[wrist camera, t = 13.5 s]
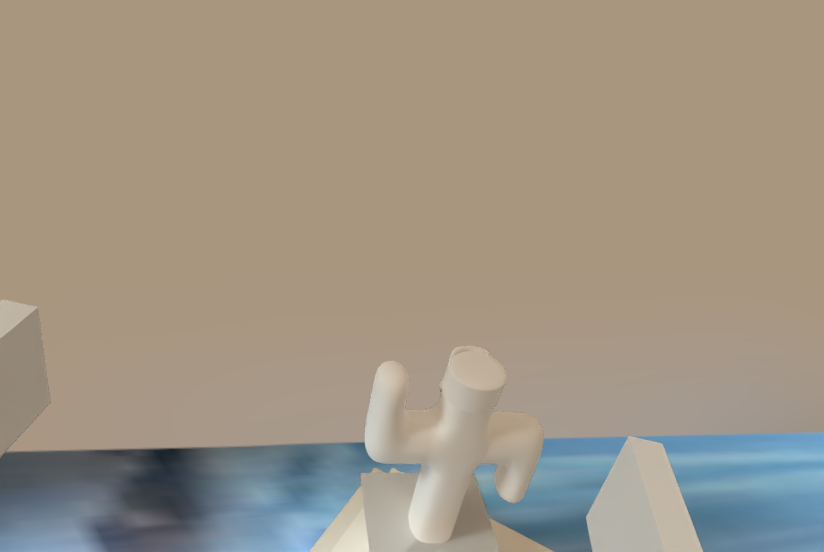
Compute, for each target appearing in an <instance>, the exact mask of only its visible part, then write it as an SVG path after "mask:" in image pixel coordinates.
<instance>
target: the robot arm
mask: <svg viewBox="0 0 824 552" xmlns="http://www.w3.org/2000/svg"><path fill="white" fill-rule="evenodd" d="M48 404H50V394H49V387H48V379H47V372H46V364H45V357H44V349H43V341H42V333H41V326H40V318H39V311H38V307H35V306H30V305H26V304H21V303H16V302H12V301H7V300H1V301H0V457H1V456H2V455H3V454H4V453H5V452H6V450H7V449H8V448H9V447H10V446H11V445H12V444H13V443H14V442H15V441H16V440H17V438H18V437H19V436H20V435H21V434H22V433H23V432H24V431H25V430H26V429H27V428H28V426H29V425H30V424H31V423H32V422H33V421H34V420H35V419H36V418H37V417H38V416H39V414H40V413H41V412H42V411H43V410H44V409H45V408H46V407H47V406H48ZM586 521H587V526H588V531H589V536H590V541H591V546H592V552H703V550H702V547H701V544H700V542H699V539H698V536H697V534H696V531H695V528H694V526H693V523H692V521H691V518H690V515H689V513H688V510H687V507H686V505H685V502H684V499H683V497H682V494H681V491H680V489H679V486H678V483H677V481H676V478H675V475H674V473H673V470H672V468H671V465H670V462H669V460H668V457H667V454H666V452H665V449H664V446H663V444H662V443H658V442H654V441H649V440H645V439H640V438H636V437H631V436H628V438H627V440H626V442H625V444H624V446H623V448H622V450H621V452H620V453H619V455H618V457H617V459H616V461H615V463H614V465H613V467H612V469H611V471H610V472H609V474H608V476H607V478H606V480H605V482H604V484H603V486H602V488H601V490H600V491H599V493H598V495H597V497H596V499H595V501H594V503H593V505H592V507H591V509H590V511H589V512H588V514H587V516H586Z"/></svg>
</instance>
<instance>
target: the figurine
mask: <svg viewBox="0 0 824 552" xmlns="http://www.w3.org/2000/svg"><path fill="white" fill-rule="evenodd" d="M506 380H507V374H506V371H505V369H504V368H503V366H502V365H501V364H500V363H499V362H498V361H496V360H495V359H494V358H492V357H491V356H490V353H489V351H488V350H486V349H483V348H480V347H476V346H459V347H457V348H455V349H454V350H453V351H452V352H451V355H450V359H449V362H448V366H447V369H446V372H445V376H444V379H443V380H441V382H440V383H439V388H440V391H441V395H440V399H439V401H438V402H437V403H436V405H435V406H433V407H432V408H430V409H426V410H407V409H405V406H406V402H407V397H408V393H409V385H410V384H409V383H410V382H409V376H408V373H407V371H406V369H405V368H404V366H403V365H401V364H400V363H398V362H396V361H386V362H384V363H382V364H381V365H380V366H379V368H378V369H377V372H376V375H375V378H374V383H373V388H372V393H371V398H370V403H369V408H368V413H367V419H366V425H365V447H366V450H367V453H368V455H369V456H370V457H371V458H372V459H373V460H374V461H376V462H379V463H383V464H422V465H421V469H420V472H419V473H360V479H361V487H362V495H363V504H364V512H365V520H366V528H367V536H368V544H369V552H500V550H499V547H498V544H497V541H496V538H495V535H494V532H493V529H492V526H491V523H490V520H489V517H488V514H487V511H486V508H485V504H484V501H483V498H482V495H481V492H480V489H479V486H478V483H477V480H476V477H475V474H474V473H472V472H473V471H474V470H475V469H476V468H477V467H478V466H479V465H480V464H498V465H497V468H496V471H495V476H494V482H495V486H496V489H497V492H498V493H499V495H500V496H501V497H502V498H503V499H504V500H505V501H507V502H510V503H517V502H519V501H520V500H522V498H523V497H524V495H525V493H526V491H527V488H528V486H529V483H530V481H531V478H532V476H533V473H534V471H535V468H536V466H537V463H538V461H539V458H540V455H541V451H542V446H543V430H542V427H541V424H540V423H539V421H538V420H537V419H536V418H535V417H534V416H532V415H530V414H527V413H521V412H493V409H494V407H495V406H496V405H497V403H498V400H499V398H500V396H501V393H502V391H503V388H504V386H505V383H506Z"/></svg>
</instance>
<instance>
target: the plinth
mask: <svg viewBox="0 0 824 552" xmlns="http://www.w3.org/2000/svg"><path fill="white" fill-rule="evenodd" d="M370 473H385V472H383V471H381V470H379V469H378V468H376V467H374V469H373V470H372V471H371V472H370ZM389 473H402V472H400V471H399V470H397V469H395V468H393V467H392V469H391V470H390V472H389ZM489 520H490V523H491V526H492V529H493V532H494V535H495V538H496V541H497V544H498V547H499V550H500V552H554V551H552V550H550V549H548V548H546V547H544V546H542V545H541V544H539V543H537V542H535V541H533V540H531V539H529V538H527V537H525V536H523V535H521V534H519V533H518V532H516V531H514V530H512V529H510V528H508V527H506V526H504V525H502V524H500V523H498V522H496V521H495V520H493V519H491V518H489ZM309 552H369V544H368V536H367V528H366V520H365V512H364V504H363V495H362V487H361V485H360V487H359V488H358V489H357V491H356V492H355V493H354V494H353V496H352V497H351V498H350V500H349V501H348V502H347V504H346V505H345V506H344V507H343V509H342V510H341V511H340V513H339V514H338V515H337V516H336V518H335V519H334V520H333V522H332V523H331V524H330V526H329V527H328V528H327V529H326V531H325V532H324V533H323V535H322V536H321V537H320V538H319V540H318V541H317V542H316V544H315V545H314V546H313V547H312V549H311V550H310V551H309Z"/></svg>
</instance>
